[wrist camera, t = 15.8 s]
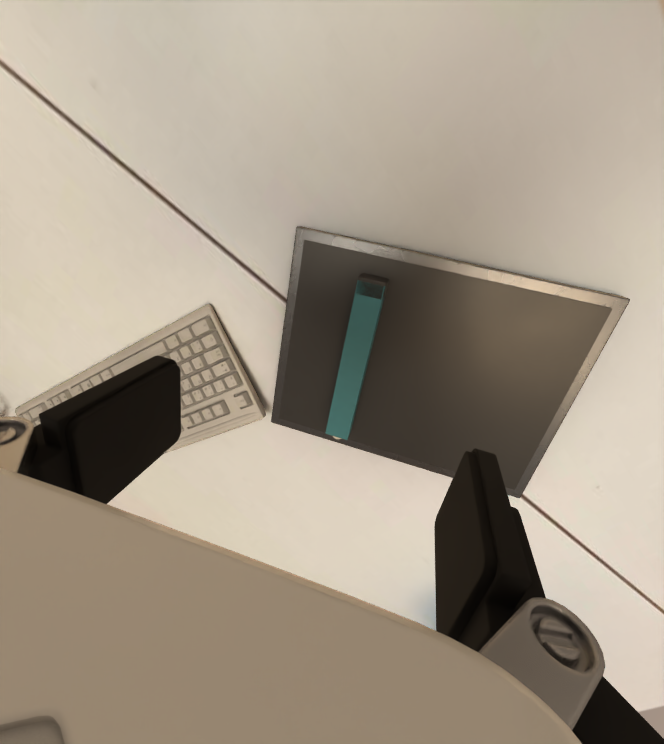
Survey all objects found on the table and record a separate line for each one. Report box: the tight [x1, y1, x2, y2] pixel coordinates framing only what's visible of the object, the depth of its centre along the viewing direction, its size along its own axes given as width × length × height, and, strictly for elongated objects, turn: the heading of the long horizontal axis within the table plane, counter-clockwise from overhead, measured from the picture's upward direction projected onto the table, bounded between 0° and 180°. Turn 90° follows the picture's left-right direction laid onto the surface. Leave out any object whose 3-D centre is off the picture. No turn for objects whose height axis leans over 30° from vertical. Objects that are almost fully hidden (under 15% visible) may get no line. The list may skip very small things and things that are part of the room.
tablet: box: [271, 227, 630, 498], centre depth 26 cm, size 16×21×1 cm
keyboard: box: [15, 304, 266, 453], centre depth 34 cm, size 29×10×2 cm, turn 116°
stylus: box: [325, 273, 389, 440], centre depth 25 cm, size 13×2×2 cm, turn 169°
